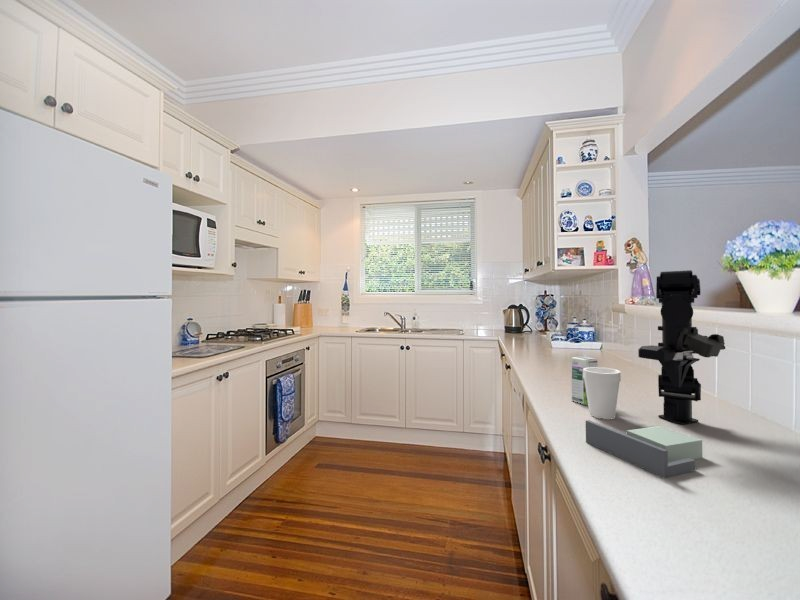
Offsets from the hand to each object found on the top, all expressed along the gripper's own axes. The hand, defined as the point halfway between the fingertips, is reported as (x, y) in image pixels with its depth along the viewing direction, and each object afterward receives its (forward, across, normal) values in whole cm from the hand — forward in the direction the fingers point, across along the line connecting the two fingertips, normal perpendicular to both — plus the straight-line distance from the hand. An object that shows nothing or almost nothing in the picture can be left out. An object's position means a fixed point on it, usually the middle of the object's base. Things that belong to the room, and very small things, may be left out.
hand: (677, 386), depth 86 cm
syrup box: (+12, +2, +30) cm, 32 cm away
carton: (+12, -12, -5) cm, 18 cm away
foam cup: (+12, -4, +18) cm, 22 cm away
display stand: (+12, -19, -4) cm, 23 cm away
